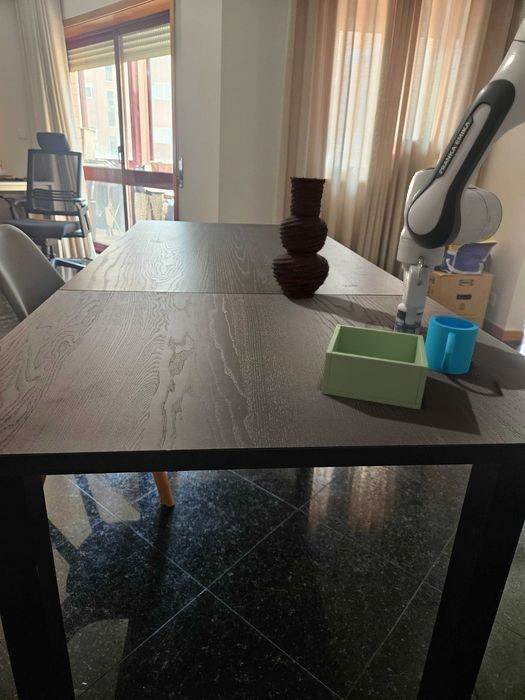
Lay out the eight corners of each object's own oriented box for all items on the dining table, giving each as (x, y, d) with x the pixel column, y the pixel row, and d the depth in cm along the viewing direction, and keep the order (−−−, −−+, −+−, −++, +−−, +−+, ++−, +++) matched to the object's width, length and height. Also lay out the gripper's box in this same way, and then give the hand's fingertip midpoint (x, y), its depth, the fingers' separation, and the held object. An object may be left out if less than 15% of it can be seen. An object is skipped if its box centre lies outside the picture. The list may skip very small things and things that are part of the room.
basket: (415, 371, 82) (422, 335, 79) (420, 409, 69) (428, 367, 66) (332, 359, 85) (336, 324, 83) (321, 393, 72) (326, 352, 69)
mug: (423, 353, 91) (431, 313, 88) (468, 361, 88) (478, 320, 85) (417, 375, 80) (426, 330, 77) (468, 386, 77) (479, 340, 74)
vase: (275, 285, 136) (282, 175, 125) (328, 291, 133) (340, 179, 122) (264, 298, 122) (272, 176, 111) (323, 305, 119) (337, 180, 108)
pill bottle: (389, 330, 103) (396, 291, 99) (412, 331, 103) (419, 291, 100) (398, 339, 98) (405, 297, 94) (422, 339, 98) (430, 298, 95)
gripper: (441, 263, 84) (427, 336, 89) (433, 247, 103) (421, 308, 108) (405, 260, 85) (393, 331, 90) (403, 245, 104) (393, 305, 109)
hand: (408, 318), depth 99 cm, fingers closed on pill bottle, 5 cm apart
